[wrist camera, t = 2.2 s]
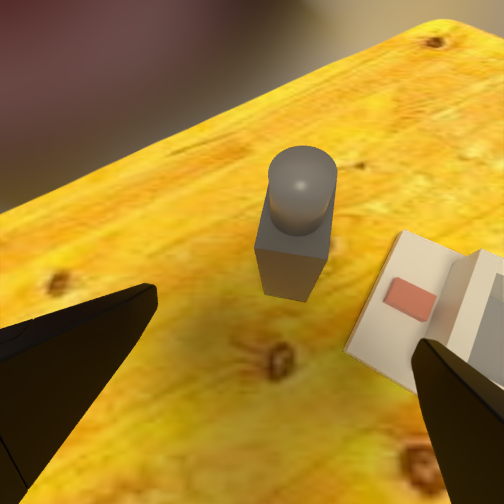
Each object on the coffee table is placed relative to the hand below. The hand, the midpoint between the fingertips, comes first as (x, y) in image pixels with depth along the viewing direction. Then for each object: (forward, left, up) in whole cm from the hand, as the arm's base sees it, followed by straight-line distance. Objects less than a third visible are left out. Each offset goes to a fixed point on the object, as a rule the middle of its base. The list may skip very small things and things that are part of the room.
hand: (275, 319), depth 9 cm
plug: (+3, -4, -12) cm, 13 cm away
